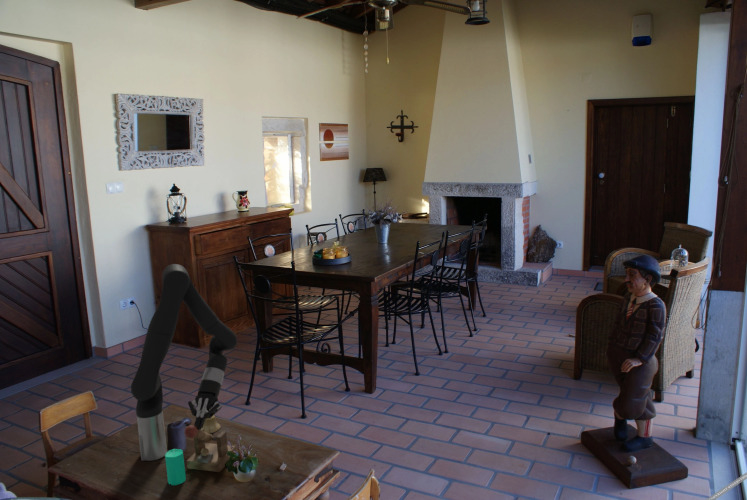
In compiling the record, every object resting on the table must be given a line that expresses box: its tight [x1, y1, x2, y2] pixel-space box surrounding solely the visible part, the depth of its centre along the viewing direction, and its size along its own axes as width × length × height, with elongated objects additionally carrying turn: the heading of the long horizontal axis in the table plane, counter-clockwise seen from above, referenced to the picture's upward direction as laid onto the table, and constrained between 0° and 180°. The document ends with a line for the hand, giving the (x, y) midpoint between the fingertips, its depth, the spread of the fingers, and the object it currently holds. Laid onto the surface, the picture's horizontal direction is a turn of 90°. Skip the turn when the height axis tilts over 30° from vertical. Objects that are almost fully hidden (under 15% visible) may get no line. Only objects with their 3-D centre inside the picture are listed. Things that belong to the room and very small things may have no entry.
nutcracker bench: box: [186, 429, 237, 473], centre depth 215 cm, size 13×13×11 cm
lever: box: [184, 424, 217, 443], centre depth 207 cm, size 6×4×18 cm
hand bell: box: [201, 414, 222, 434], centre depth 239 cm, size 8×8×16 cm
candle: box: [164, 448, 187, 486], centre depth 203 cm, size 6×6×12 cm
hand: (197, 429), depth 205 cm, fingers closed
